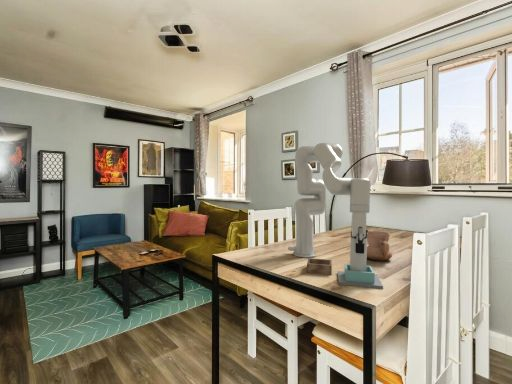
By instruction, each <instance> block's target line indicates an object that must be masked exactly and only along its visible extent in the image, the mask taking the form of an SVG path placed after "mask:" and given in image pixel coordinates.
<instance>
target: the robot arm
mask: <svg viewBox="0 0 512 384" xmlns="http://www.w3.org/2000/svg"><path fill="white" fill-rule="evenodd" d="M343 152H344V151H343V148H342V147H341V145H339V144H338V143H331V142H321V143H317V144H316V145H315V146H313V145H310V146H309V145H305V146H300V147H299V148H297V149H296V151H295V154H294V156H295V157H294V160H295V161H294V163H295V166H296V177H297V178H296V180H297V181H296V188H297V189H296V190H297V193H298V194H299V196H305V197H304V198H303V197H302V198H301V197H300V198H298V199H297V200H296V201H295V202H294V212H295V226H296V227H295V230H296V231H295V246H289V245H288V247H287V250H288V251H292V252H293V253H292V255H293V256H295V257H298V258H307V259H308V258H313V257H316V256H317V253H316V252H315V251H314V222H313V220H312V218H311V216H319V215H320V216H321V215H323V214H324V213H325V212H326V205H327V204H326V203H327V202H326V201H327V197H326V196H327V194H326V193H327V191H328V192H329V193H330V194H332V195H333V196H349V213H352V214H351V227H350V232H351V231H352V236H353V237H354V236H356V247H355V252H356V253H361V254H364V237H365V236H366V230H367V214H369V213H370V208H371V206H370V203H371V202H370V201H371V199H370V198H371V180H370V179H369V178H364V177H363V178H360V177H359V178H358V177H357V178H356V177H337V176H336V175H335V174H334V173H336V172H338V170H340V168H341V166H342V160H341V158H342V156H343ZM310 163H319V164H320V166H321V167H322V169H323V171H322V179H320V178H314V177H313V176H314V174H313V173H314V171H313V168H312V166H311V165H310ZM306 196H307V197H306ZM308 196H309V198H308ZM310 196H313V197H310ZM358 230H359V231H358Z"/></svg>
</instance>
